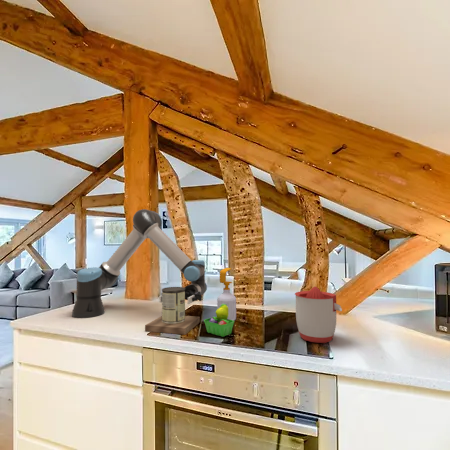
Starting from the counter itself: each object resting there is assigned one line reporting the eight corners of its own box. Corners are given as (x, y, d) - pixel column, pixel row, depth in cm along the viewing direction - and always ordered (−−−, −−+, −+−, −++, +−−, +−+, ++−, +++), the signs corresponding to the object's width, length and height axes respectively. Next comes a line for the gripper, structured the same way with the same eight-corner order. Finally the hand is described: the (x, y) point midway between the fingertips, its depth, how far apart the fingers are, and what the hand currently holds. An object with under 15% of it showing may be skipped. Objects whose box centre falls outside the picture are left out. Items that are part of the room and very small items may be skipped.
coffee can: (165, 317, 131) (166, 286, 132) (187, 317, 130) (187, 286, 131) (158, 323, 121) (158, 290, 121) (181, 324, 120) (182, 290, 120)
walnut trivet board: (144, 331, 118) (145, 325, 119) (164, 319, 136) (164, 314, 136) (185, 334, 114) (185, 328, 114) (199, 322, 132) (199, 316, 132)
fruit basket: (202, 332, 117) (202, 304, 118) (217, 327, 124) (217, 301, 124) (223, 338, 110) (223, 309, 110) (237, 333, 116) (237, 305, 117)
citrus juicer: (339, 349, 98) (338, 291, 99) (290, 341, 107) (289, 287, 108) (345, 336, 112) (343, 285, 113) (301, 329, 120) (300, 282, 121)
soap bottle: (239, 319, 136) (239, 268, 138) (226, 323, 130) (226, 269, 132) (227, 315, 143) (227, 266, 144) (213, 319, 137) (213, 268, 138)
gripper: (214, 300, 142) (200, 310, 122) (169, 298, 149) (148, 307, 128) (214, 285, 143) (200, 292, 122) (169, 283, 149) (148, 290, 129)
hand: (174, 300), depth 125 cm, fingers open, 13 cm apart
